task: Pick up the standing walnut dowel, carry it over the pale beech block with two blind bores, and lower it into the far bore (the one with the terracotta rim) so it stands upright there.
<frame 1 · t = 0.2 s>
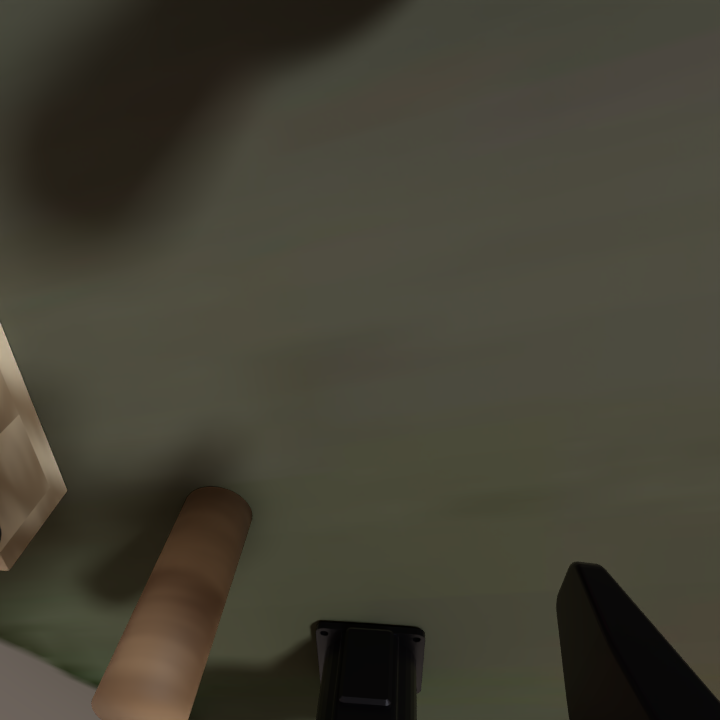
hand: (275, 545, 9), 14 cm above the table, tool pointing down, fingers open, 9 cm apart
dowel: (218, 511, 29), on the table
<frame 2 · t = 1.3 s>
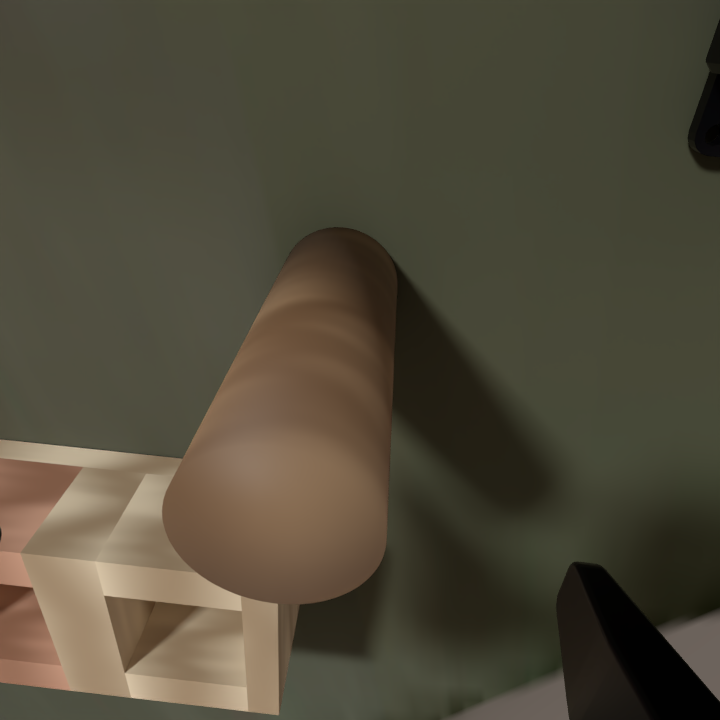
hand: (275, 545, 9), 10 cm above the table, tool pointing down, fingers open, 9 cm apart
dowel: (340, 283, 17), on the table
bore block: (140, 524, 24), on the table
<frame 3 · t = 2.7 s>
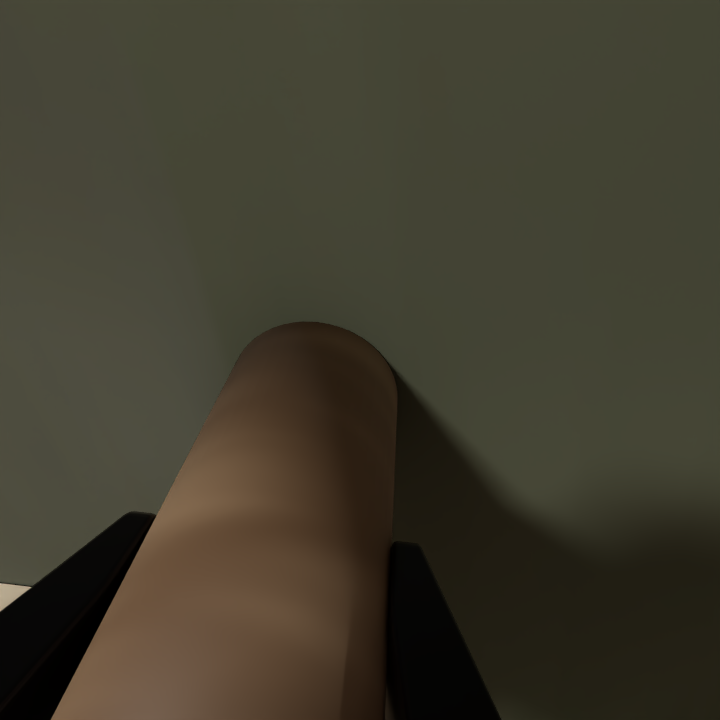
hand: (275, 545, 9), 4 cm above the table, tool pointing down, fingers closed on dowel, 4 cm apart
dowel: (314, 395, 12), on the table, touching gripper
bore block: (66, 664, 19), on the table
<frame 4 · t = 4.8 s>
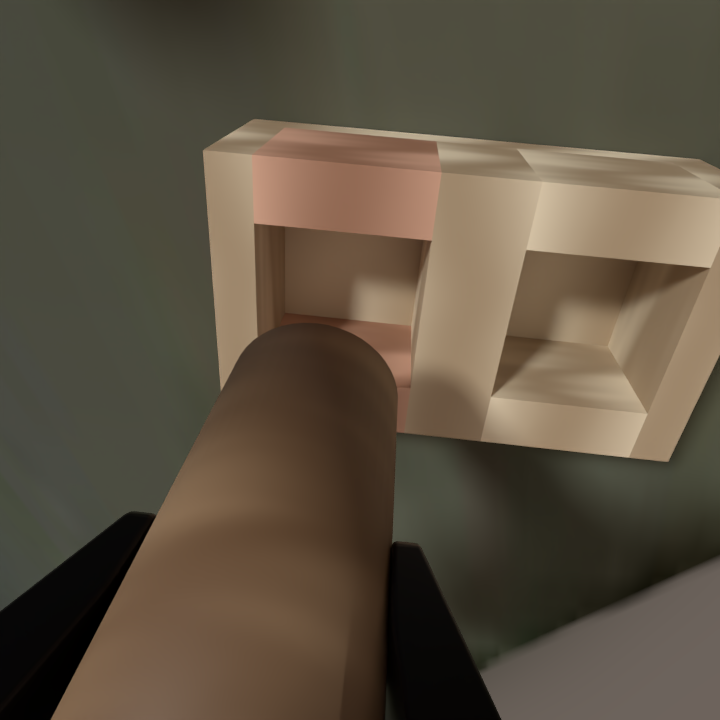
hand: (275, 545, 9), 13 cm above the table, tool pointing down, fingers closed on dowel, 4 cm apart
dowel: (314, 397, 12), point 9 cm above the table, touching gripper
bore block: (453, 258, 20), on the table
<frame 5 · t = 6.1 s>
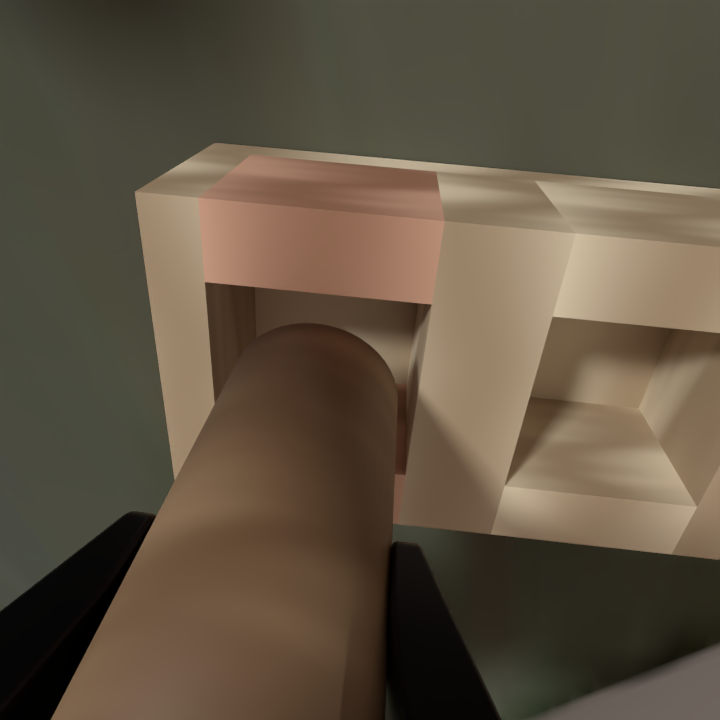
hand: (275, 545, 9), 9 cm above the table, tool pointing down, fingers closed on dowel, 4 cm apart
dowel: (314, 397, 12), point 5 cm above the table, touching gripper
bore block: (455, 305, 17), on the table
when the fingers open (6 cm above the table, at t = 7.0 s): dowel drops 1 cm, resting on bore block.
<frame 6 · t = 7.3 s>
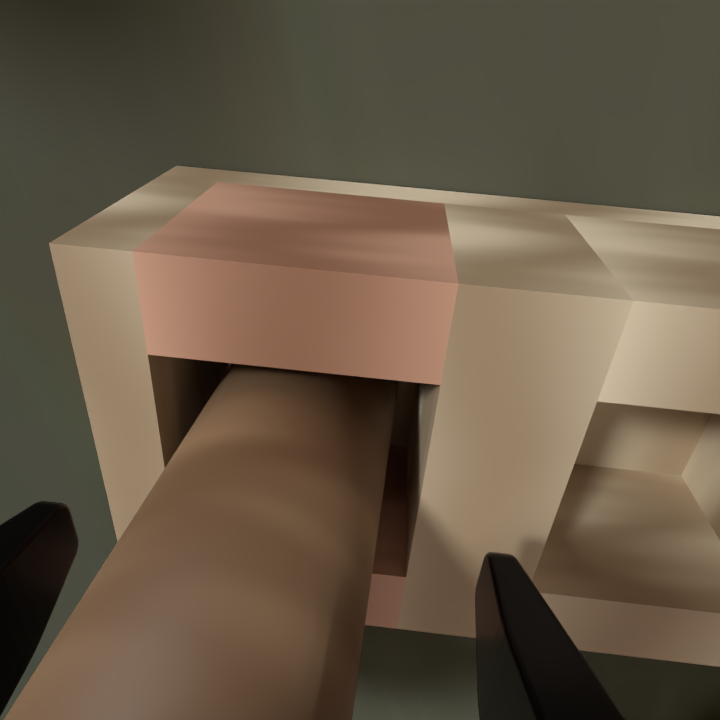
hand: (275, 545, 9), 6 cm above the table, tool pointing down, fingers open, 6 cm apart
dowel: (324, 363, 13), point 1 cm above the table, touching bore block
bore block: (465, 355, 14), on the table
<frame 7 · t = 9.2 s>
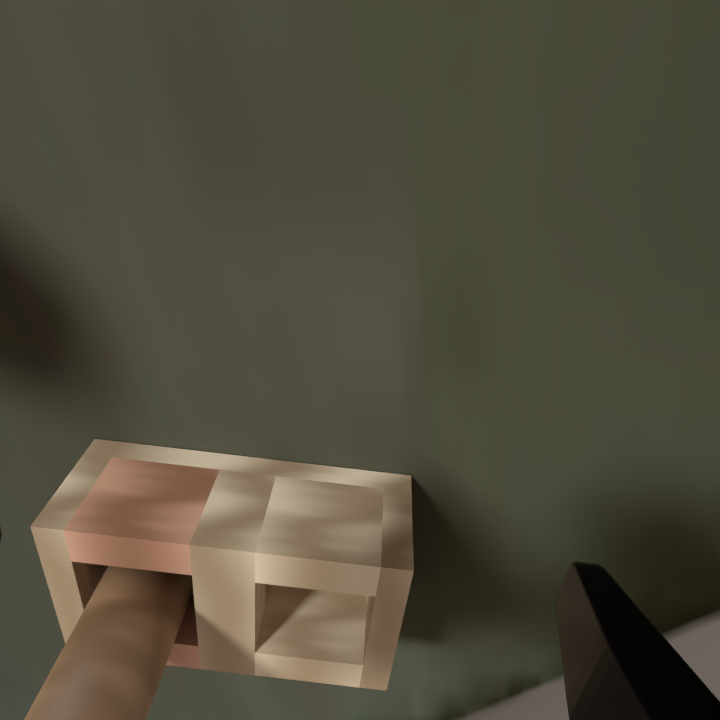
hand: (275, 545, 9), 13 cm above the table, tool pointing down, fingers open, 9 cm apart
dowel: (173, 528, 26), point 1 cm above the table, touching bore block
bore block: (253, 520, 27), on the table
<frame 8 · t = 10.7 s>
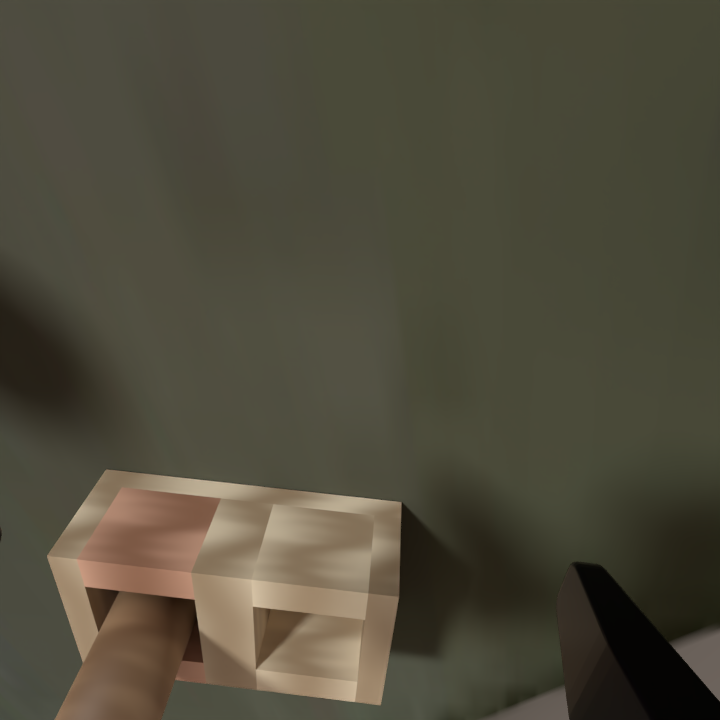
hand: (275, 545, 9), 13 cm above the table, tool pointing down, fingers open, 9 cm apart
dowel: (180, 551, 27), point 1 cm above the table, touching bore block
bore block: (255, 543, 28), on the table
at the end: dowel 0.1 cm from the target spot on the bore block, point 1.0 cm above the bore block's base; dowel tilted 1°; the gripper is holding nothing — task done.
